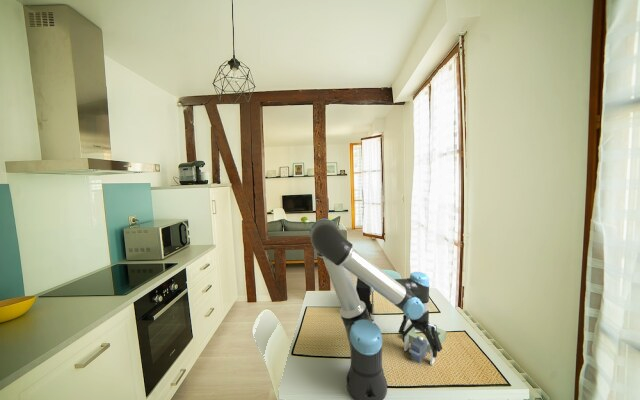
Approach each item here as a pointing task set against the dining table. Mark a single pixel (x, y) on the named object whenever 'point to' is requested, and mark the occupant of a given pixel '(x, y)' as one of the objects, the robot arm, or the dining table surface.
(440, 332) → the green tray
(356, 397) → the robot arm
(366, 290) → the electrical component
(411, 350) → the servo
